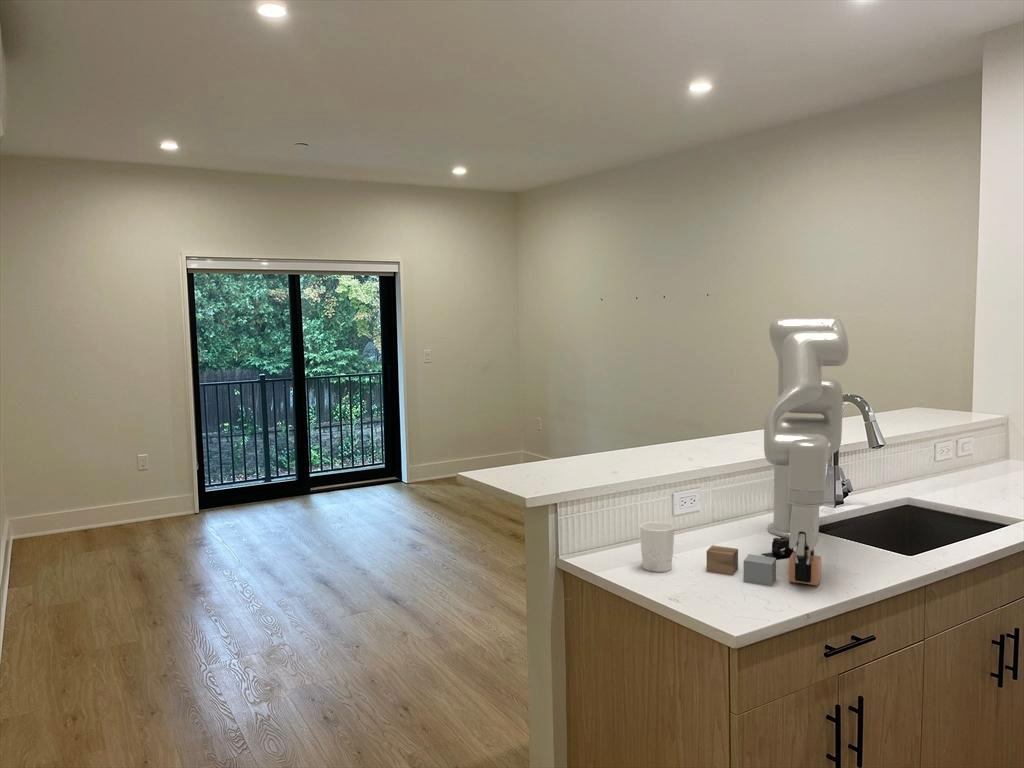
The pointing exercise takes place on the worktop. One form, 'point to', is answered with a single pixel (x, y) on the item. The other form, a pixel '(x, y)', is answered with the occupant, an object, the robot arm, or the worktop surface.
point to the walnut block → (722, 560)
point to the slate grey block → (759, 570)
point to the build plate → (776, 549)
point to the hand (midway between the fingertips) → (804, 576)
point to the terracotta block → (815, 569)
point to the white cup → (657, 546)
